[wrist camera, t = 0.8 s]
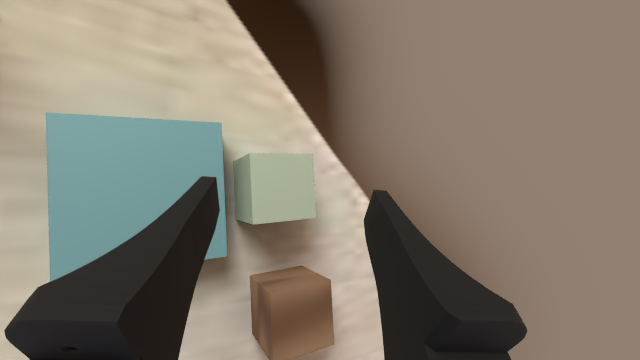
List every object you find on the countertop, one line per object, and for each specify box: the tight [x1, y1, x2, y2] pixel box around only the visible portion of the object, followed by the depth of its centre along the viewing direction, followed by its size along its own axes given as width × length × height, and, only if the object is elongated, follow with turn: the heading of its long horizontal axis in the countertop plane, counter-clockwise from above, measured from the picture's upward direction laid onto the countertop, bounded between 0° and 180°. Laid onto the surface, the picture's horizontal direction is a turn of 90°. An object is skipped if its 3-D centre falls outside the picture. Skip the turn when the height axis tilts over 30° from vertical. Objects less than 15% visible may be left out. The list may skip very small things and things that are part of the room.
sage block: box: [233, 153, 316, 225], centre depth 24 cm, size 5×5×6 cm
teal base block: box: [46, 113, 227, 282], centre depth 21 cm, size 10×10×4 cm
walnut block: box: [250, 266, 334, 360], centre depth 24 cm, size 5×5×6 cm
